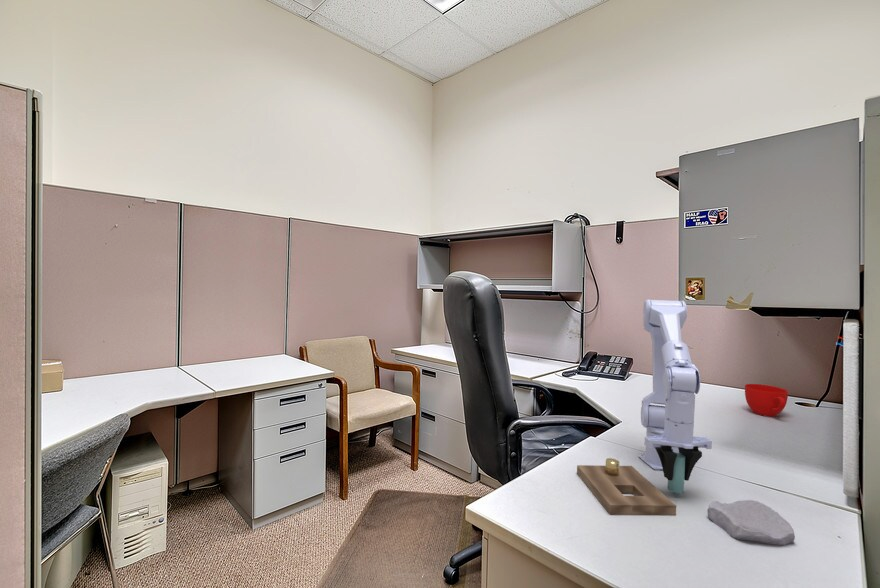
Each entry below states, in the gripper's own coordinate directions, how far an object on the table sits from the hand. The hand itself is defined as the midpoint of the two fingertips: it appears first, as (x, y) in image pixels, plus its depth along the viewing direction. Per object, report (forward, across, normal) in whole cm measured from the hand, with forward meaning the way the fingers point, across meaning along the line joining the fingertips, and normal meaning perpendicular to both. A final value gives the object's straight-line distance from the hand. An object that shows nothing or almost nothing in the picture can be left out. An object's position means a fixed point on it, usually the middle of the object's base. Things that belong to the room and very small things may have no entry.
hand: (676, 478), depth 92 cm
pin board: (+4, -12, +1) cm, 13 cm away
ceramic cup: (+4, +73, +58) cm, 93 cm away
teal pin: (+3, 0, 0) cm, 3 cm away
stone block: (+4, +7, -13) cm, 16 cm away
